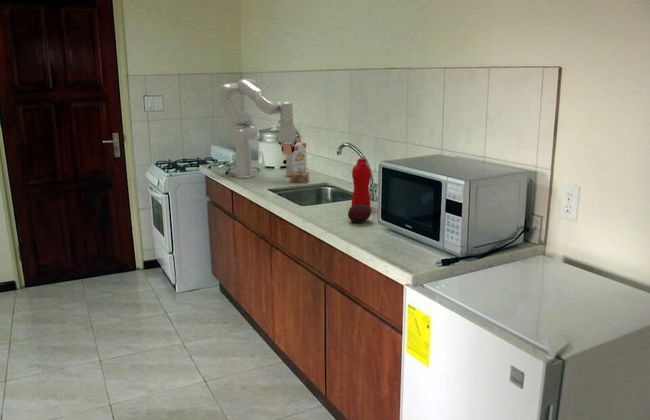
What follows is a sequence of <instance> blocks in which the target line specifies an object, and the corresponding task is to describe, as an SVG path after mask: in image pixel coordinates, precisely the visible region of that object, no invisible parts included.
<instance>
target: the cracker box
mask: <svg viewBox="0 0 650 420" xmlns="http://www.w3.org/2000/svg"><path fill="white" fill-rule="evenodd" d="M285 160H286V161H285V162H286V167H285V171H286V173H285V174H286V177H290V175H291V174H292V172H307V143H306V142H302V141H299V142H297V143H296V144H295V146H294V152H293V154H286V159H285Z"/></svg>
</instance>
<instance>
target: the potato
mask: <svg viewBox="0 0 650 420" xmlns="http://www.w3.org/2000/svg"><path fill="white" fill-rule="evenodd" d="M371 215H372V210H371V207H370V208H369V207H368V206H367V205H364V204H355V205H353V206H352V205H351V207H350V208H349V209H348V211H347V216H348V219H349V220H350V221H351V222H353V223H356V222H357V224H360V223H364V222H365V221H367V220H368V219H369V218H370V217H371Z"/></svg>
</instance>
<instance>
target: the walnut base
mask: <svg viewBox="0 0 650 420" xmlns="http://www.w3.org/2000/svg"><path fill="white" fill-rule="evenodd" d="M309 173H310V172H308V171H306V172H292V174H291V175H290V176H289V177H290V178H289V179H290V181H289V182H290V184H308V182H309V180H310V179H309V178H310V177H309V175H310V174H309Z"/></svg>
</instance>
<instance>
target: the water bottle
mask: <svg viewBox="0 0 650 420" xmlns="http://www.w3.org/2000/svg"><path fill="white" fill-rule="evenodd" d="M350 175H351V176H350ZM348 177H351V178H352V183H348V186H349V185H352V184H353V193H352V196H351V207H352V206H353V205H355V204H364V205H367V206H368V207H369V208H370V209H371V198H370V191H369V189H370V188H369V187H370V186H369V185H370V182H371V178H372V173H371V168H370V167H369V165H367V159H366V158H361V157H360V158H358V159H357V160H356V163H355V165H354V166H353V167H352V169H351V171H350V174H349V175H348Z"/></svg>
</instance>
